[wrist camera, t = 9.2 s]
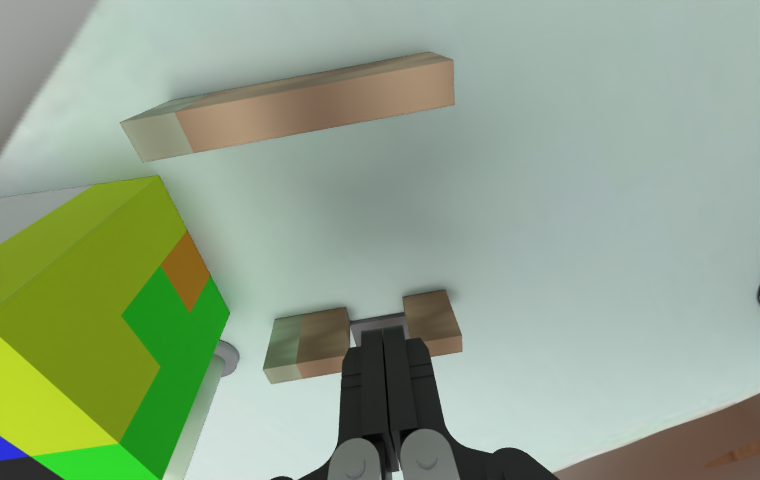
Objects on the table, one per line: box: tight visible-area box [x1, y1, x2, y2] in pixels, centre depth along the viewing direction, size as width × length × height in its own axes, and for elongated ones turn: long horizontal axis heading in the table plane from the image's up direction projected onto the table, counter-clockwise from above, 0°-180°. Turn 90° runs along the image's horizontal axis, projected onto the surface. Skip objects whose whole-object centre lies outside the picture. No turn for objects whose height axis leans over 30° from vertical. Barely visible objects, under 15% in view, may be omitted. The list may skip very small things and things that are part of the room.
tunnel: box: [120, 52, 462, 384], centre depth 19 cm, size 12×22×4 cm, turn 9°
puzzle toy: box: [0, 175, 230, 480], centre depth 16 cm, size 10×10×10 cm
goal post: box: [162, 340, 239, 480], centre depth 21 cm, size 4×4×8 cm
